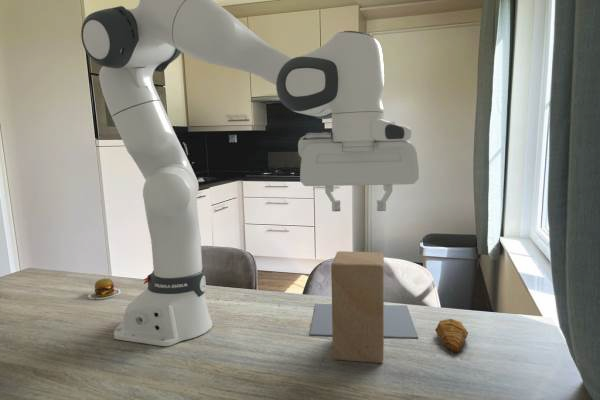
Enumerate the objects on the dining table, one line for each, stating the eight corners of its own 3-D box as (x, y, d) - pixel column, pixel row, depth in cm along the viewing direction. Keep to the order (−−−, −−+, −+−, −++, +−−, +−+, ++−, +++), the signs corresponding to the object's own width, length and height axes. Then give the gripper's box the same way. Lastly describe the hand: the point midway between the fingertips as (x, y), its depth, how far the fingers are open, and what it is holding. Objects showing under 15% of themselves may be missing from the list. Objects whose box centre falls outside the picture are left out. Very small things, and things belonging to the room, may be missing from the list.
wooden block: (383, 364, 81) (383, 265, 79) (332, 360, 83) (330, 263, 81) (383, 340, 91) (383, 251, 88) (338, 337, 93) (336, 250, 90)
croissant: (433, 326, 98) (433, 306, 98) (464, 328, 96) (464, 308, 96) (436, 354, 85) (436, 331, 85) (471, 357, 83) (472, 334, 83)
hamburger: (77, 296, 125) (75, 279, 124) (118, 287, 133) (116, 270, 132) (88, 307, 116) (86, 289, 116) (132, 296, 124) (130, 278, 123)
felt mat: (309, 335, 94) (309, 334, 94) (316, 304, 112) (315, 303, 112) (418, 338, 92) (418, 337, 92) (406, 306, 109) (406, 305, 109)
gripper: (295, 132, 69) (297, 214, 71) (421, 128, 67) (420, 213, 69) (299, 133, 76) (302, 208, 78) (415, 129, 73) (414, 207, 75)
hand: (358, 210), depth 73 cm, fingers open, 6 cm apart
